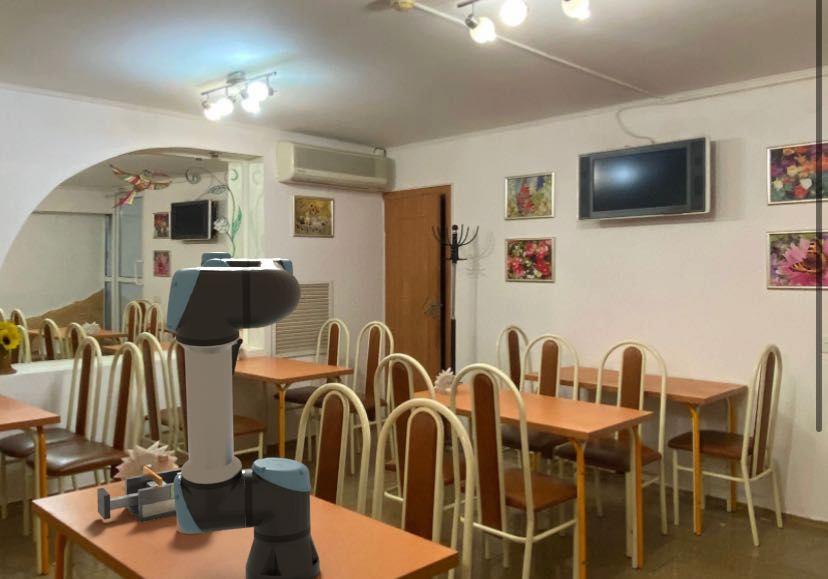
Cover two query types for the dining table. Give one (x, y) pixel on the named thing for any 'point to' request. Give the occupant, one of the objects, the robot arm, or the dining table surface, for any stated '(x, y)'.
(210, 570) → the dining table surface
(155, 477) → the grey t-handle block
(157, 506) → the gauge housing
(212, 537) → the dining table surface
